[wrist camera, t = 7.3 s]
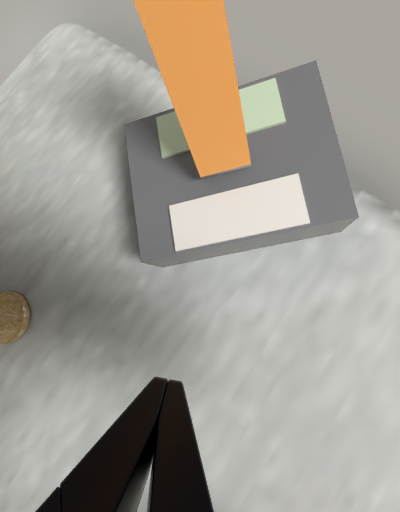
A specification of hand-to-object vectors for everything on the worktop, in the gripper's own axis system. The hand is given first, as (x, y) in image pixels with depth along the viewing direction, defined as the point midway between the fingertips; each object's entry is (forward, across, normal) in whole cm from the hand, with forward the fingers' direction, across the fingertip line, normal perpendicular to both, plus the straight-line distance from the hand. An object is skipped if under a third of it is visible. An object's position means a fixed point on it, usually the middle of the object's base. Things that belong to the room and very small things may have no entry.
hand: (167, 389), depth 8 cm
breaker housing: (+15, -2, -4) cm, 16 cm away
